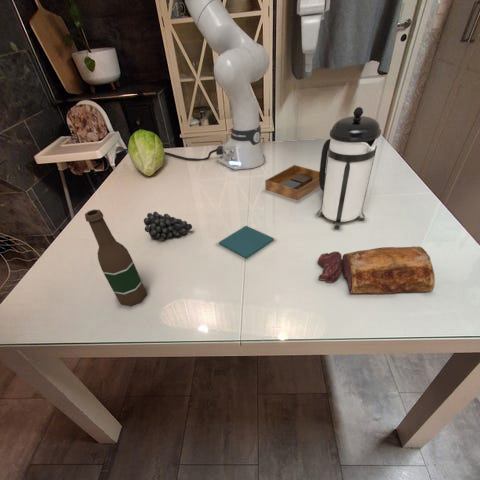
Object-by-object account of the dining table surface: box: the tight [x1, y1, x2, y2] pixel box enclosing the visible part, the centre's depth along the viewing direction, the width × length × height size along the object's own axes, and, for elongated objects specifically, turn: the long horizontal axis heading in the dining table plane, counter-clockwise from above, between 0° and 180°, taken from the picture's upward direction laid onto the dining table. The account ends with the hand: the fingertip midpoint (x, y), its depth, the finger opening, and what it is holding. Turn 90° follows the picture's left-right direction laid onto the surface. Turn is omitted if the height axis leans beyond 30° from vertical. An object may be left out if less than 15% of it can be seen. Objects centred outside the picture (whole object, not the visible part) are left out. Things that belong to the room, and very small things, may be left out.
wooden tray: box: [264, 164, 321, 201], centre depth 112 cm, size 15×17×4 cm
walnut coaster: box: [290, 173, 313, 187], centre depth 114 cm, size 6×6×2 cm
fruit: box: [143, 211, 193, 242], centre depth 95 cm, size 9×8×15 cm
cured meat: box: [317, 246, 436, 295], centre depth 75 cm, size 18×25×7 cm
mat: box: [218, 225, 275, 259], centre depth 91 cm, size 12×12×1 cm
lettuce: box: [127, 128, 166, 177], centre depth 136 cm, size 15×24×16 cm
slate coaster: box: [281, 180, 301, 190], centre depth 111 cm, size 6×6×2 cm
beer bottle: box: [84, 208, 148, 307], centre depth 70 cm, size 8×8×24 cm
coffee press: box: [316, 106, 382, 230], centre depth 86 cm, size 17×16×30 cm
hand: (309, 68), depth 92 cm, fingers open, 8 cm apart
